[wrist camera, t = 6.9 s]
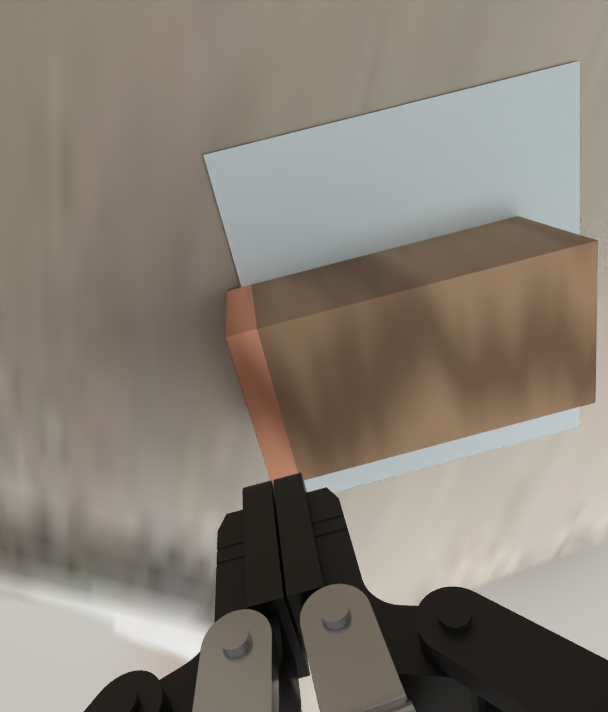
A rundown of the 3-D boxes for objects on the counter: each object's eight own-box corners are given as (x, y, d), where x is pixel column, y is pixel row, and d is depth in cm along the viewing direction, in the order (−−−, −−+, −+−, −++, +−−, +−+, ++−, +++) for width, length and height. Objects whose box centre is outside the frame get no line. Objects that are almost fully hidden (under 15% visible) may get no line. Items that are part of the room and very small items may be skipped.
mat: (203, 154, 19) (203, 155, 19) (574, 61, 19) (579, 60, 19) (302, 496, 25) (302, 500, 25) (576, 423, 26) (579, 426, 26)
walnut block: (225, 337, 16) (597, 240, 16) (226, 290, 21) (518, 215, 21) (273, 488, 19) (595, 402, 19) (265, 417, 23) (524, 349, 23)
